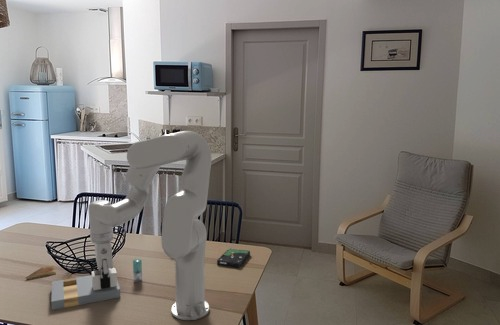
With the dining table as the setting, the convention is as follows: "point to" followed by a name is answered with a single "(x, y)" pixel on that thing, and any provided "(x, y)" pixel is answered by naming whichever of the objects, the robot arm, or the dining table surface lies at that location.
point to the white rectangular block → (97, 275)
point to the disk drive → (233, 258)
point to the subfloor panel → (79, 292)
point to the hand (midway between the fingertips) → (104, 284)
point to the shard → (42, 272)
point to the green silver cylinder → (137, 270)
